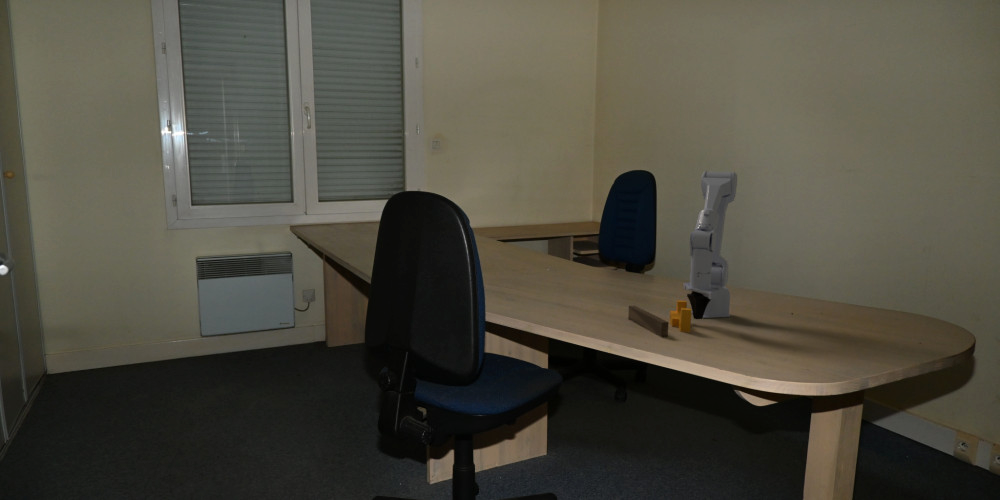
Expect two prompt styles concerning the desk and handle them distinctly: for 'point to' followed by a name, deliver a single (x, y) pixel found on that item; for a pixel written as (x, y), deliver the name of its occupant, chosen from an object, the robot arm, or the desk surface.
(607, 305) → the desk surface
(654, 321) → the rail
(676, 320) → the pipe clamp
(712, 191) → the robot arm
